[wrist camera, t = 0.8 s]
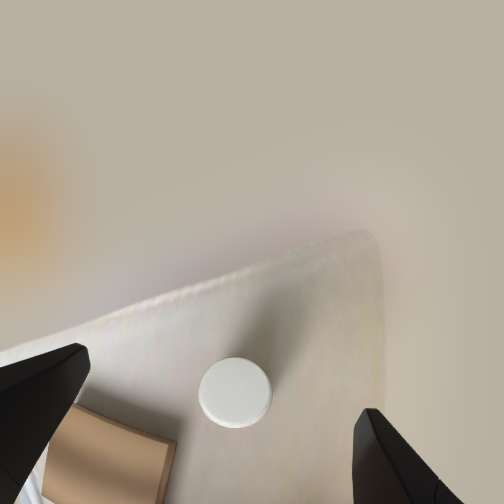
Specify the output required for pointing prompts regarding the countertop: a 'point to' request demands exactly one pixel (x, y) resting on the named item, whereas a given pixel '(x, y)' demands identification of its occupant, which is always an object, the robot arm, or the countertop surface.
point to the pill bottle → (235, 393)
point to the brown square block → (105, 462)
